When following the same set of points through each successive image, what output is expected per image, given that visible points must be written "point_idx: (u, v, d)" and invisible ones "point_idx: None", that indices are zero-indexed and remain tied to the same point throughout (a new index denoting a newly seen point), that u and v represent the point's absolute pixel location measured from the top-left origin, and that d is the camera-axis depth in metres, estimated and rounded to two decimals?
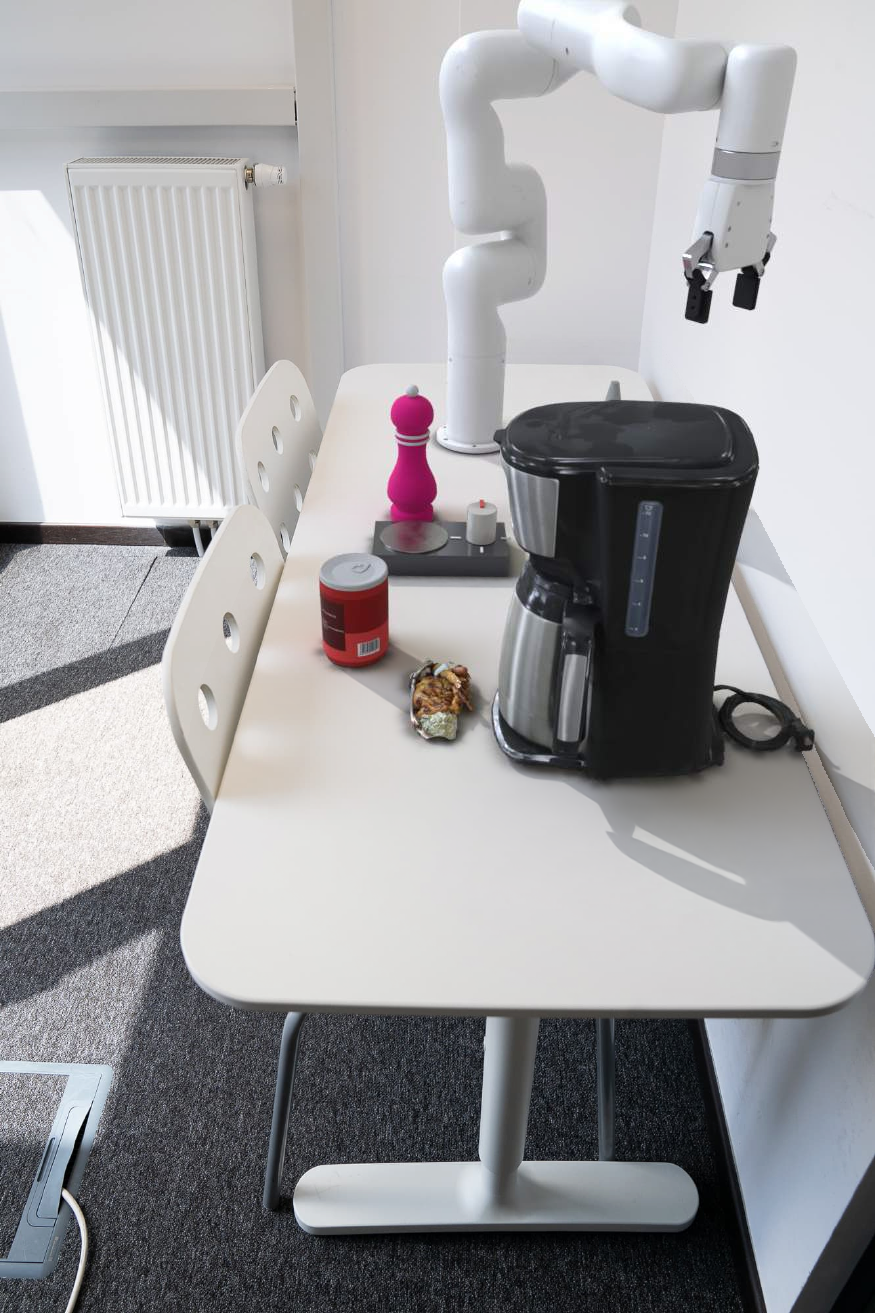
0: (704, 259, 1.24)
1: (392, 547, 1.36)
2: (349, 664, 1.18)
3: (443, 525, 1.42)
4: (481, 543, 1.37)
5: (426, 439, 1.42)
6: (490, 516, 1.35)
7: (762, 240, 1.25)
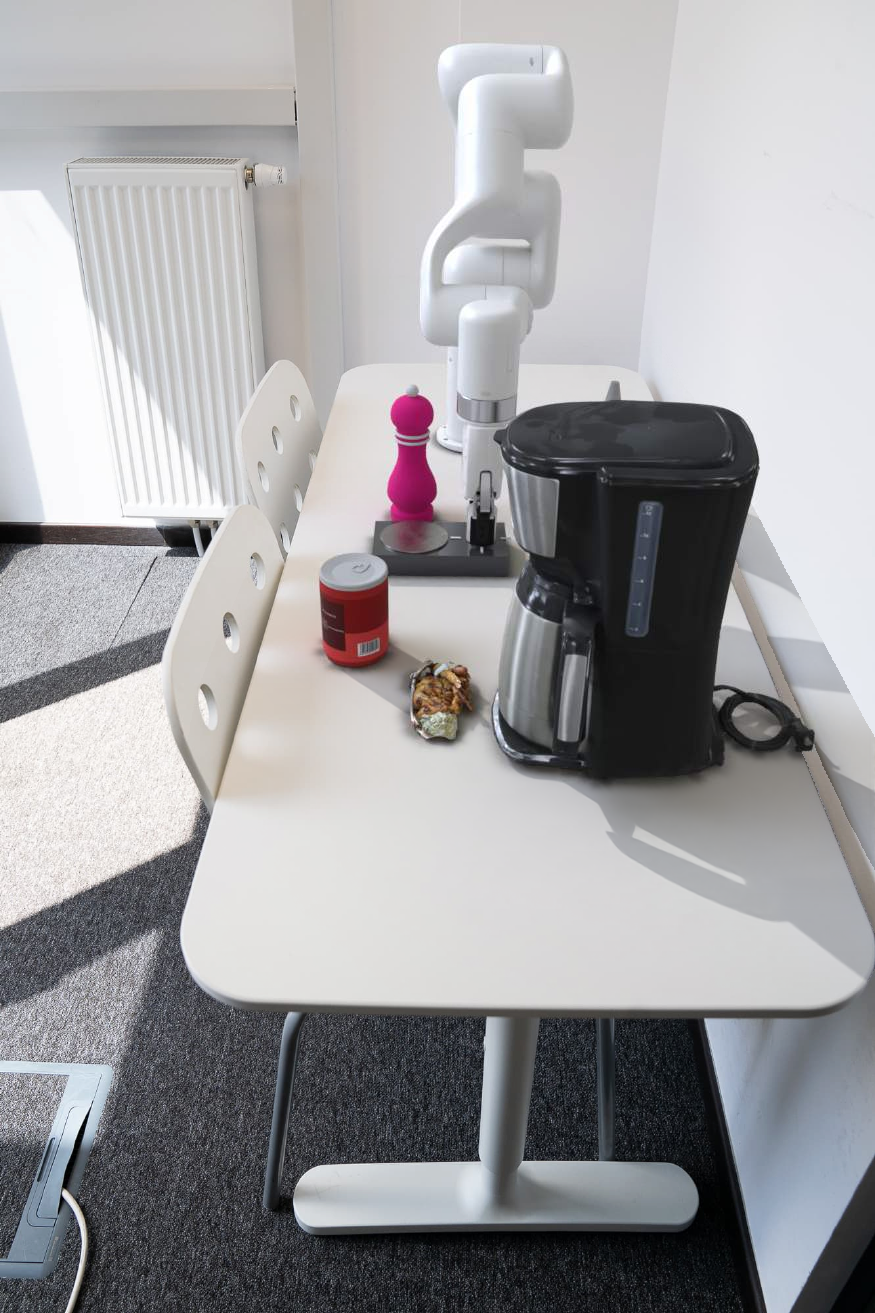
0: (476, 492, 1.32)
1: (392, 547, 1.36)
2: (349, 664, 1.18)
3: (443, 525, 1.42)
4: None
5: (426, 439, 1.42)
6: None
7: None
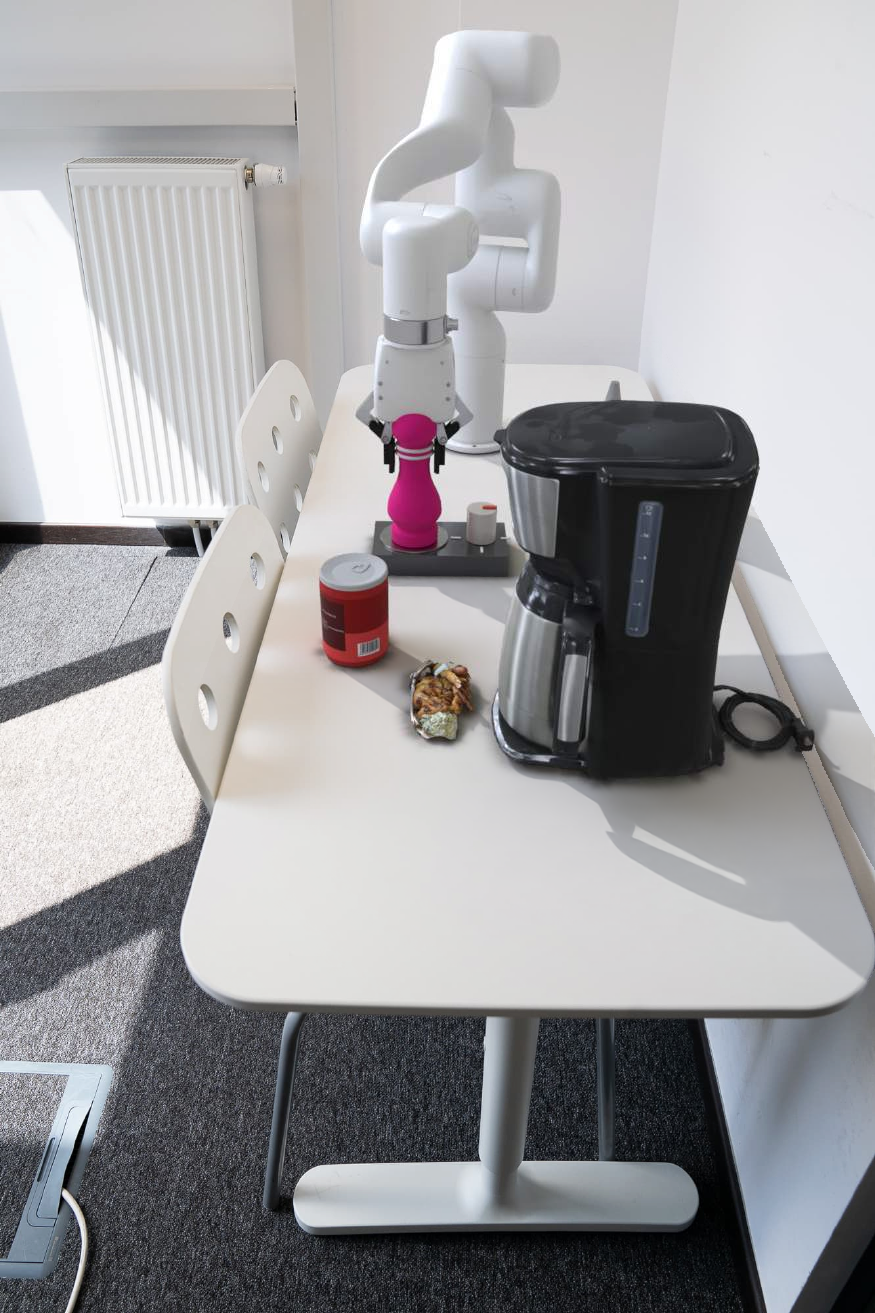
0: None
1: (392, 547, 1.36)
2: (349, 664, 1.18)
3: (443, 525, 1.42)
4: (466, 536, 1.39)
5: (430, 452, 1.30)
6: (469, 514, 1.36)
7: (439, 401, 1.26)
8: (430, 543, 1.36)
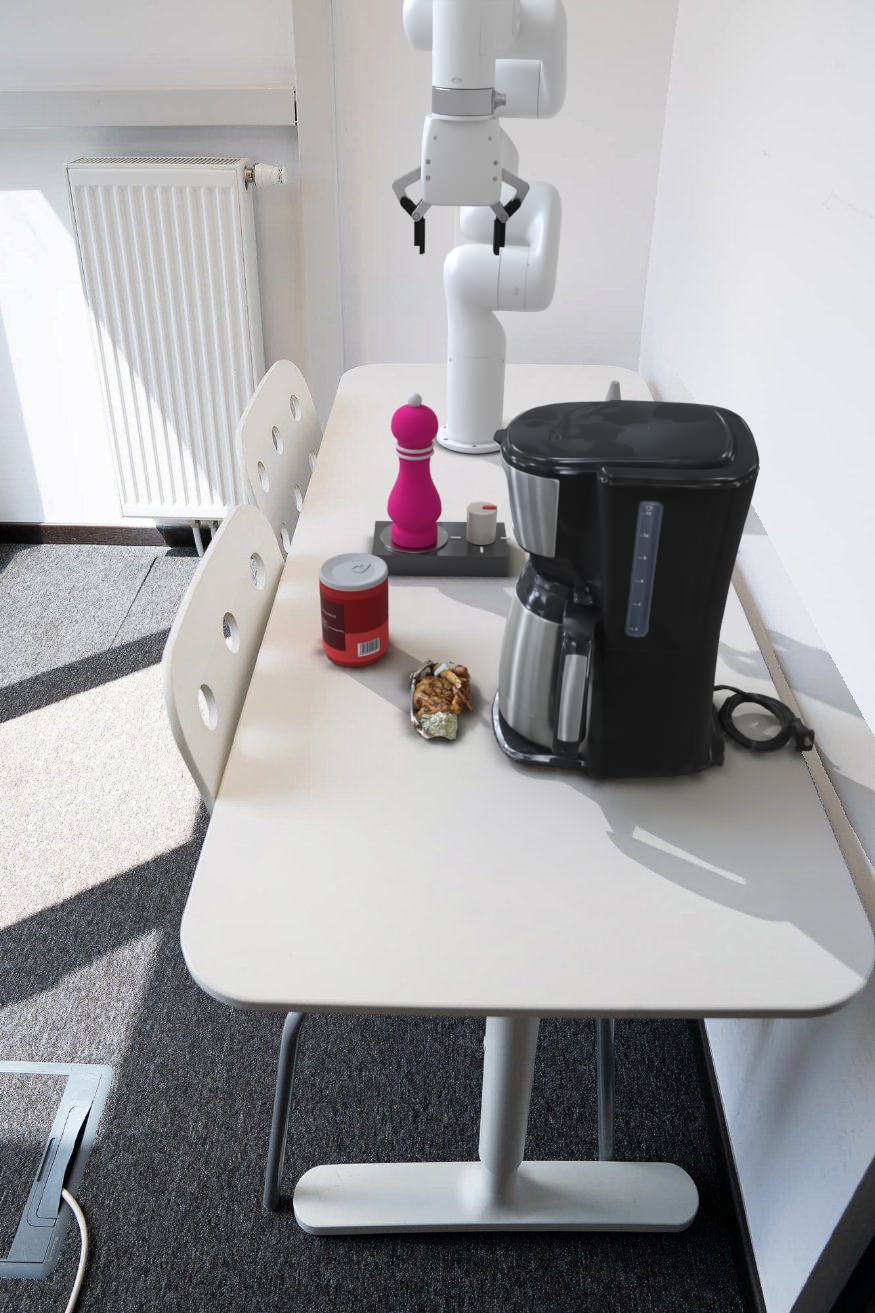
0: None
1: (392, 547, 1.36)
2: (349, 664, 1.18)
3: (443, 525, 1.42)
4: (466, 536, 1.39)
5: (430, 452, 1.30)
6: (469, 514, 1.36)
7: (485, 181, 1.27)
8: (430, 543, 1.36)
